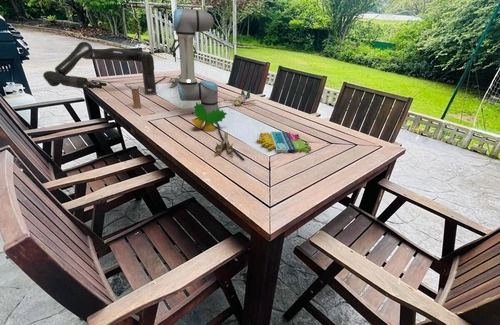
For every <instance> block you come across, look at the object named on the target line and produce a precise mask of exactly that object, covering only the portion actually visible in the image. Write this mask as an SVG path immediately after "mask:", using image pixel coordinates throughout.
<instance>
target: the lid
mask: <svg viewBox="0 0 500 325" xmlns="http://www.w3.org/2000/svg"><path fill="white" fill-rule="evenodd" d="M129 88H130V90H131V89H138V88H139V89H140V85H139V84H136V83H135V84H130V85H129Z"/></svg>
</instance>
